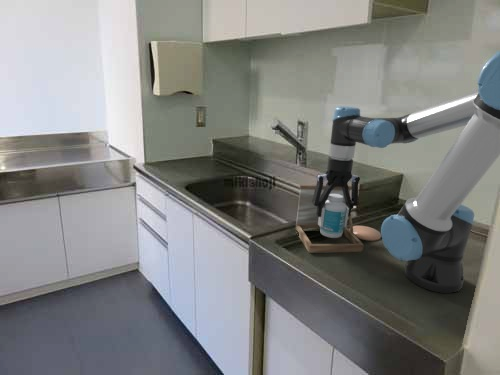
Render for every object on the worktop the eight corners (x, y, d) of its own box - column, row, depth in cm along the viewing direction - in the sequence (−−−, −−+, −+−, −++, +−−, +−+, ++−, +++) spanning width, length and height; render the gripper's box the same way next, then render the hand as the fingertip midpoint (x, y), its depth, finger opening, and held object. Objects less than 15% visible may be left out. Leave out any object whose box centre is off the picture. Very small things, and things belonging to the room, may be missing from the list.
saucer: (386, 240, 127) (386, 239, 127) (356, 240, 125) (357, 239, 125) (371, 227, 137) (372, 225, 137) (344, 227, 135) (344, 225, 135)
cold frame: (365, 252, 118) (375, 202, 113) (308, 253, 115) (315, 202, 109) (346, 230, 133) (353, 185, 128) (294, 230, 130) (299, 185, 124)
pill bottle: (342, 240, 117) (348, 200, 113) (319, 237, 119) (324, 198, 114) (341, 231, 124) (347, 193, 120) (319, 228, 126) (324, 190, 122)
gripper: (366, 155, 119) (356, 220, 126) (305, 154, 115) (299, 221, 122) (377, 161, 112) (365, 229, 119) (313, 159, 108) (305, 230, 115)
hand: (332, 225), depth 120 cm, fingers closed on pill bottle, 7 cm apart
